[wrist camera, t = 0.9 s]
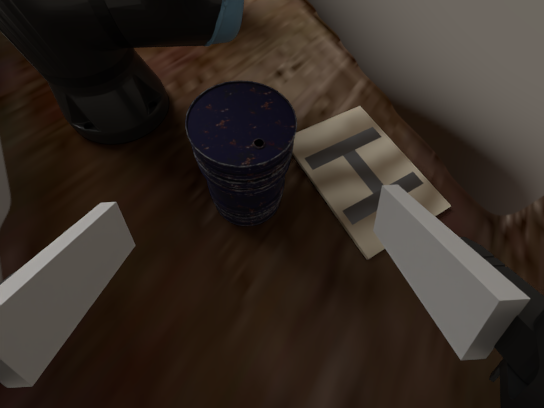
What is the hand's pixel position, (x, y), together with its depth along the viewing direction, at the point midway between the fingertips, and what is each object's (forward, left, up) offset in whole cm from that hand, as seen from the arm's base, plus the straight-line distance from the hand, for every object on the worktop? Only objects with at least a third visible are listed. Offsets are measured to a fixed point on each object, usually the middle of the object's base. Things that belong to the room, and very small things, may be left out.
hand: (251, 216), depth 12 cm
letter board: (-5, +22, -19) cm, 30 cm away
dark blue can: (-10, +4, -20) cm, 22 cm away
